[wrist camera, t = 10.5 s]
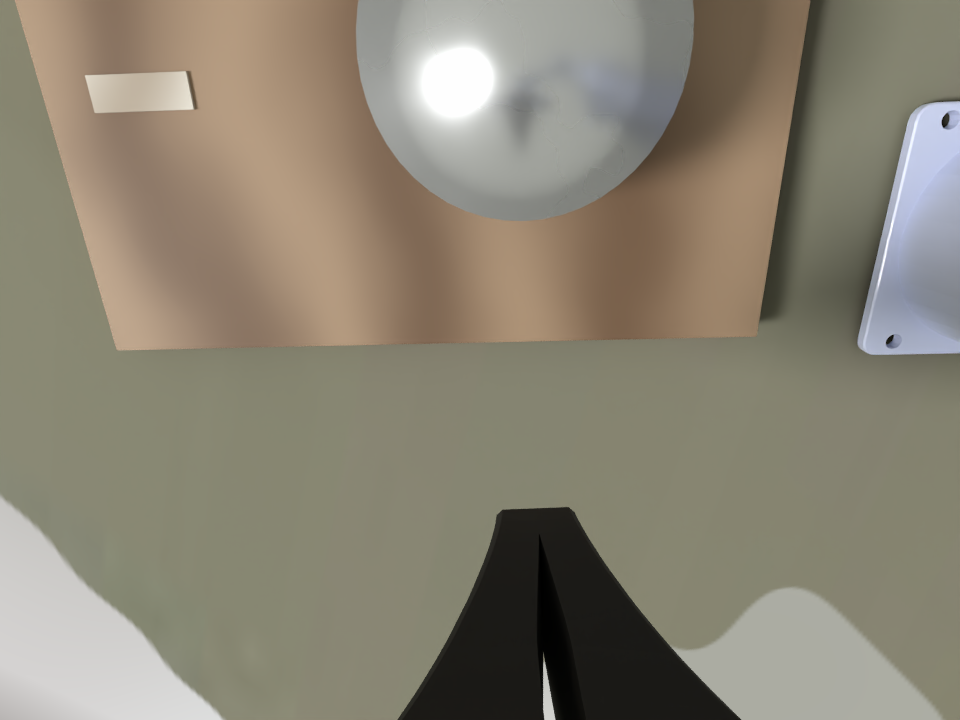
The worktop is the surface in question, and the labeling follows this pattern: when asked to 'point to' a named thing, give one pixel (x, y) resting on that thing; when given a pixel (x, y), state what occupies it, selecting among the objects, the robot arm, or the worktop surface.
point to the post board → (388, 188)
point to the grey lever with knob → (522, 94)
